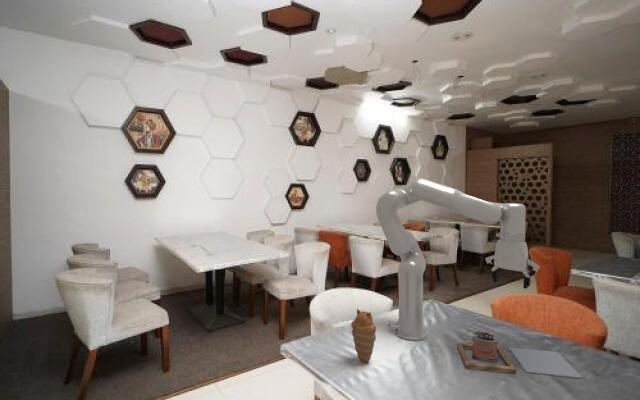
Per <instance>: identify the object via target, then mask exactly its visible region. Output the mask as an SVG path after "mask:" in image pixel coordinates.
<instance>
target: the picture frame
mask: <svg viewBox="0 0 640 400" xmlns="http://www.w3.org/2000/svg"><path fill="white" fill-rule="evenodd" d="M472 344H473V343H465V342H464V343H463V342H456V347H457V349H458V352H459V355H460V356H461V359H462V361H463V364H464V367H465V369H466V370H476V371H483V372H495V373H501V374H502V373H503V374H509V375H511V374H513V375H517V368H516V367H515V366H514V364H513V363H512V361H511V359H510V358H509V357H508V356H507V354H506V352H505V351H504V349H502V347H501V346H497V355H499V357H500V359H501V360H502V362H503V363H504V365H498V364H497V365H496V364H489V363H488V364H487V363H479V362H471V361H470V359H469V356H468V354H467V352H466V350H469V351H472Z"/></svg>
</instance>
